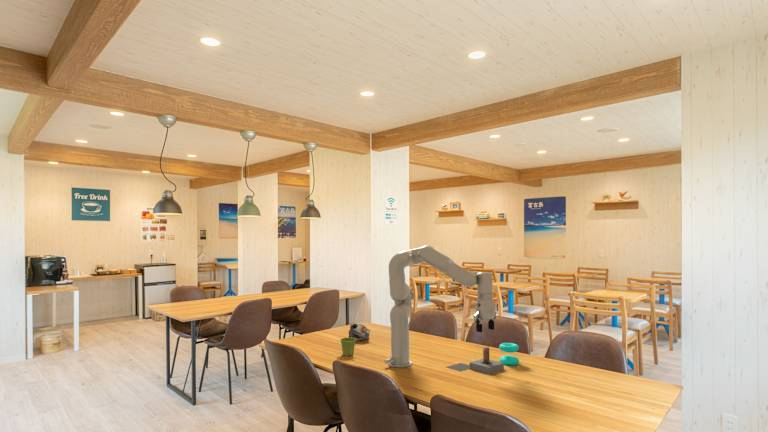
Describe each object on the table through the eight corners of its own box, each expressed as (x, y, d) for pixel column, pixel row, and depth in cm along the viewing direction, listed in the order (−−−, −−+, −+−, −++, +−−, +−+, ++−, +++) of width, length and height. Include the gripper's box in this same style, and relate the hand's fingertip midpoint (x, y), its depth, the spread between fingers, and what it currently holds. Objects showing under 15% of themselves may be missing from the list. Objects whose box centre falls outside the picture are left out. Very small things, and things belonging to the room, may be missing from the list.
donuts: (498, 341, 239) (517, 342, 237) (499, 360, 238) (518, 361, 236) (499, 346, 229) (519, 347, 227) (500, 365, 229) (520, 366, 227)
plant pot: (357, 352, 258) (357, 337, 259) (354, 357, 249) (354, 341, 249) (341, 352, 259) (341, 337, 260) (338, 356, 250) (338, 341, 250)
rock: (372, 337, 297) (374, 321, 291) (365, 348, 287) (367, 331, 281) (352, 329, 302) (354, 313, 296) (344, 340, 291) (346, 323, 286)
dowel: (487, 371, 220) (486, 348, 220) (482, 369, 222) (481, 347, 222) (490, 369, 222) (490, 347, 222) (486, 368, 224) (485, 346, 224)
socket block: (489, 375, 213) (489, 367, 214) (469, 369, 223) (469, 362, 223) (503, 370, 221) (503, 363, 221) (484, 365, 230) (484, 358, 230)
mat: (460, 372, 218) (460, 371, 218) (445, 367, 226) (445, 367, 226) (475, 367, 226) (475, 366, 226) (460, 363, 233) (460, 362, 233)
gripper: (480, 298, 215) (480, 334, 214) (501, 295, 226) (501, 329, 225) (468, 297, 221) (468, 331, 220) (489, 294, 232) (489, 327, 231)
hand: (485, 330), depth 223 cm, fingers open, 9 cm apart
